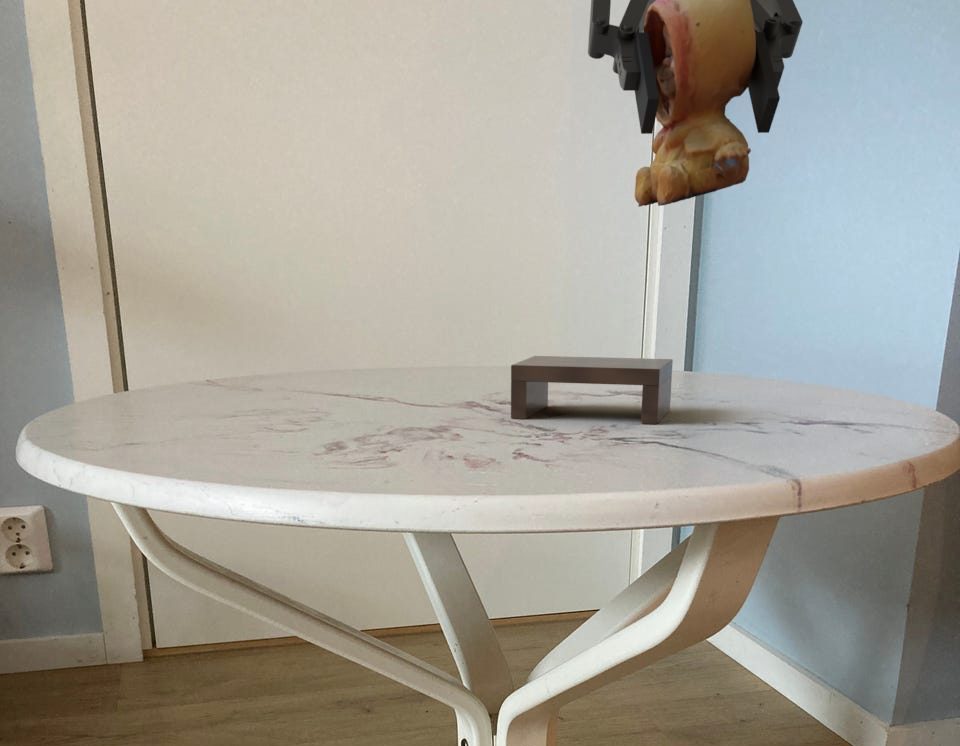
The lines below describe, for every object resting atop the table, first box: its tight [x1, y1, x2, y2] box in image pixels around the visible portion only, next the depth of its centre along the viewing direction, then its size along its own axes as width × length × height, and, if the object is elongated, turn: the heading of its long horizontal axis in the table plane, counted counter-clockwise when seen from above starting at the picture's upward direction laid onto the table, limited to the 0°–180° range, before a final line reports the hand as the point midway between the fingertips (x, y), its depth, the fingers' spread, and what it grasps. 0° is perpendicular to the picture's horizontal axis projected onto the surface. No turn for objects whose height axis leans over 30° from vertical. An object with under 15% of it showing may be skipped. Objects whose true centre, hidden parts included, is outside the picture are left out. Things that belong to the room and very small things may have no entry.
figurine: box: [634, 0, 756, 208], centre depth 76 cm, size 10×8×15 cm
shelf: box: [510, 355, 674, 425], centre depth 107 cm, size 14×9×5 cm, turn 73°
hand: (709, 115), depth 74 cm, fingers closed on figurine, 7 cm apart
